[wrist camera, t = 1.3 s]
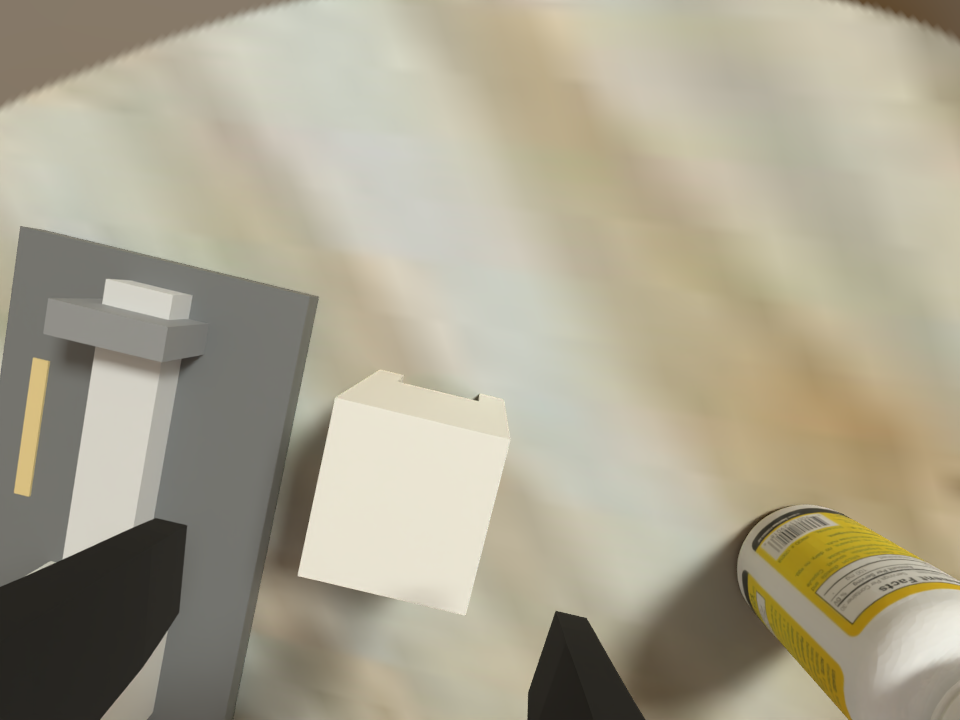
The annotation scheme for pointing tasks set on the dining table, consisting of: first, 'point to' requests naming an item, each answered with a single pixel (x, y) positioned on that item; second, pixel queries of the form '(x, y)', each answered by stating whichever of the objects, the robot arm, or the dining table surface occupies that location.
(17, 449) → the rail
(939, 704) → the supplement bottle
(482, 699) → the dining table surface
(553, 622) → the robot arm
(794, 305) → the dining table surface
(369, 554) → the block
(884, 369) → the dining table surface
